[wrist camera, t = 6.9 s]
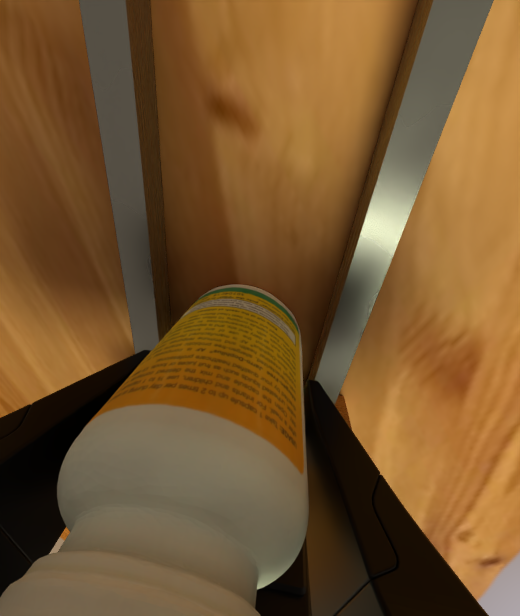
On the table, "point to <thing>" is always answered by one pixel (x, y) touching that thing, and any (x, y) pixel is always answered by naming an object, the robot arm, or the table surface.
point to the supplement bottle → (185, 474)
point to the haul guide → (375, 197)
